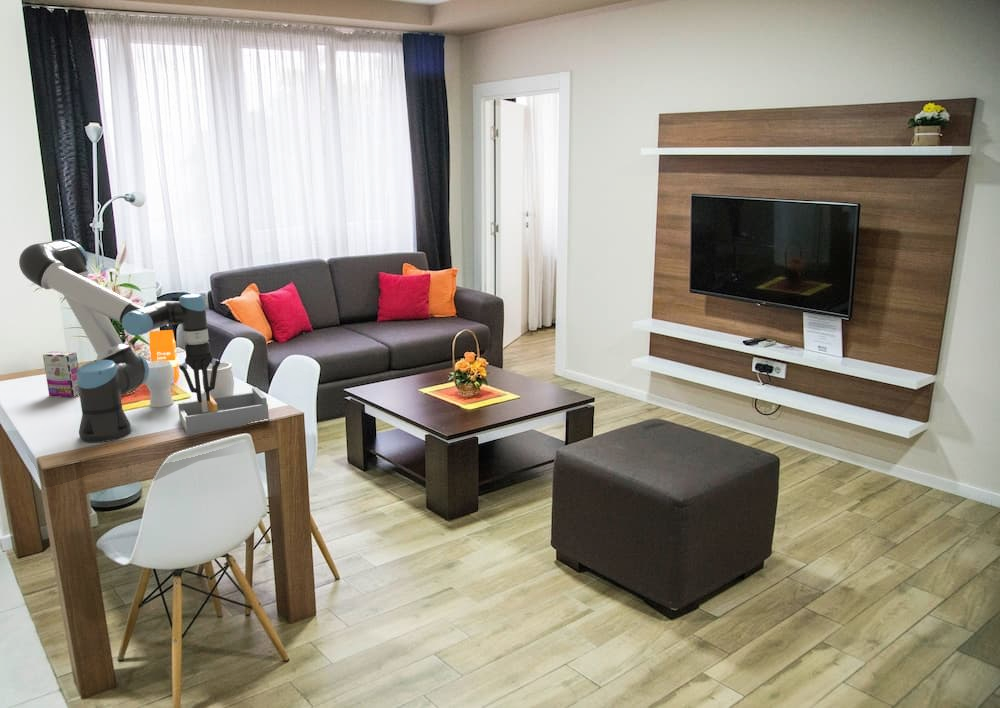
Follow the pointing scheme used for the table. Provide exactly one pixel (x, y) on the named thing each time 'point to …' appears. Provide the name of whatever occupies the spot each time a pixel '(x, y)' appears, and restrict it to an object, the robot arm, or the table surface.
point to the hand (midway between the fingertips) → (205, 410)
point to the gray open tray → (224, 412)
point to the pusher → (212, 405)
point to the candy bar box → (61, 373)
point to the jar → (221, 380)
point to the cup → (160, 383)
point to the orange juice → (164, 349)
